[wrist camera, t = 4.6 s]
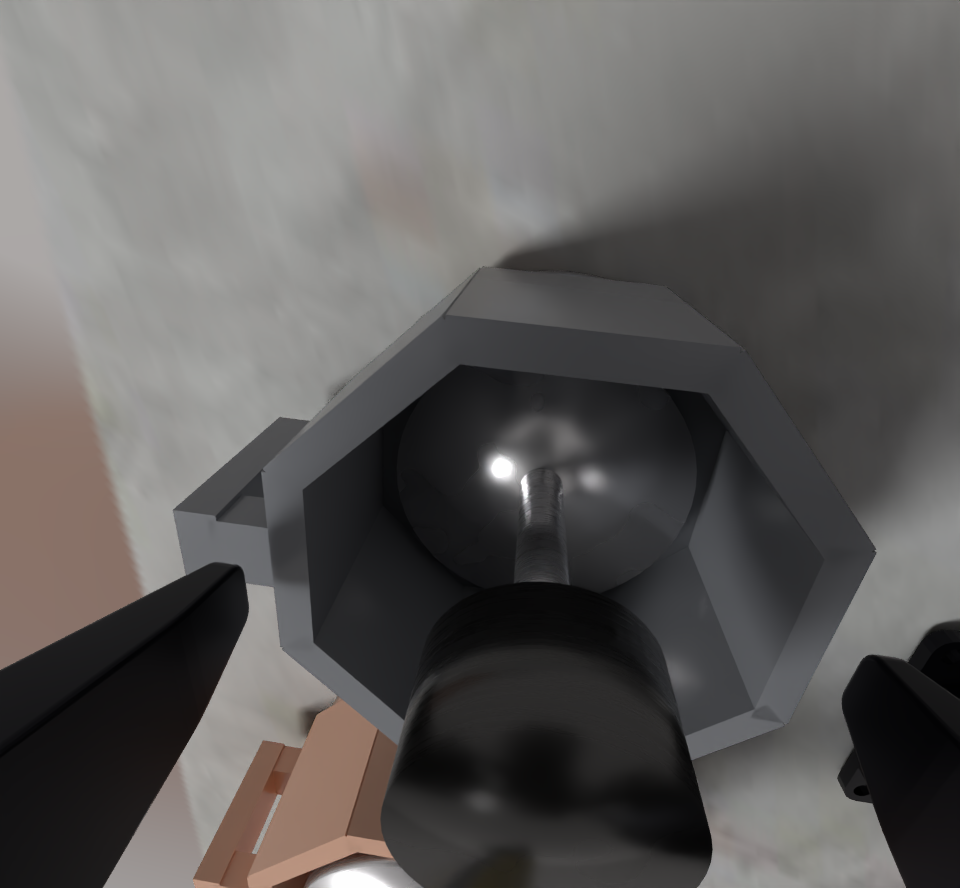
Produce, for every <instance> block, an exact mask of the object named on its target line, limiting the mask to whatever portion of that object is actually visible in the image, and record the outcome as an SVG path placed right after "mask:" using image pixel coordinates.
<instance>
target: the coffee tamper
mask: <svg viewBox="0 0 960 888" xmlns="http://www.w3.org/2000/svg"><path fill="white" fill-rule="evenodd" d="M696 477H697V466H696V454H695V450H694V446H693V442H692V437H691V434H690V432H689V430H688V427H687V425H686V422H685V420H684V418H683V416H682V415H681V413H680V411H679V410H678V408H677V406H676V405H675V403H674V402H673V400H672V398H671V397H670V395H669V394H668V392H667V391H666V390H665V389H664V388H658V387H649V386H641V385H632V384H624V383H615V382H607V381H598V380H589V379H581V378H572V377H564V376H555V375H547V374H538V373H530V372H521V371H513V370H504V369H496V368H487V367H478V366H470V365H461V364H460V365H459V366H457V367H456V368H455V369H454V370H452V371H451V372H450V373H448V374H447V375H446V376H445V377H443V378H442V379H441V380H440V381H438V382H437V383H436V384H435V385H433V386H432V387H431V388H430V389H428V390H427V391H426V392H425V393H424V394H423V395H422V397H421V398H420V400H419V402H418V403H417V405H416V407H415V409H414V410H413V412H412V414H411V415H410V417H409V419H408V422H407V424H406V426H405V429H404V431H403V434H402V437H401V441H400V445H399V449H398V458H397V484H398V489H399V494H400V499H401V502H402V505H403V508H404V511H405V514H406V516H407V518H408V520H409V522H410V524H411V526H412V528H413V530H414V531H415V533H416V534H417V536H418V537H419V539H420V540H421V542H422V543H423V544H424V545H425V547H426V548H427V549H428V550H429V551H430V552H431V553H432V554H433V556H435V557H436V558H437V559H438V560H439V561H440V562H441V563H442V564H444V565H445V566H446V567H447V568H449V569H450V570H451V571H453V572H454V573H456V574H457V575H459V576H460V577H462V578H464V579H465V580H467V581H469V582H471V583H473V584H475V585H477V586H479V587H482V588H484V589H485V590H483V591H480V592H477V593H475V594H473V595H471V596H469V597H467V598H465V599H463V600H461V601H460V602H458V603H457V604H455V605H454V606H452V607H451V608H450V609H449V610H448V611H446V612H445V613H444V614H443V615H442V616H441V617H440V618H439V619H438V621H437V622H436V623H435V625H434V626H433V627H432V629H431V631H430V633H429V634H428V636H427V638H426V641H425V644H424V647H423V651H422V655H421V659H420V662H419V666H418V670H417V674H416V678H415V682H414V685H413V689H412V693H411V697H410V701H409V705H408V708H407V712H406V716H405V720H404V724H403V728H402V731H401V735H400V739H399V743H398V747H397V751H396V754H395V758H394V762H393V766H392V770H391V774H390V778H389V781H388V785H387V789H386V793H385V797H384V801H383V804H382V810H381V818H380V821H381V830H382V834H383V837H384V841H385V844H386V846H387V847H388V849H389V851H390V853H391V855H392V856H393V858H394V859H395V860H396V862H397V863H398V865H399V866H400V867H401V868H402V869H403V870H404V871H405V872H406V873H407V874H408V875H409V876H410V877H411V878H412V879H413V880H414V881H416V882H417V883H418V884H419V885H421V886H422V887H423V888H697V887H698V886H699V885H700V883H701V882H702V880H703V878H704V877H705V875H706V874H707V871H708V868H709V866H710V863H711V857H712V850H713V849H712V839H711V834H710V830H709V826H708V822H707V818H706V814H705V810H704V807H703V803H702V799H701V795H700V791H699V787H698V783H697V780H696V776H695V772H694V768H693V764H692V760H691V757H690V753H689V749H688V745H687V741H686V737H685V733H684V730H683V726H682V722H681V718H680V714H679V710H678V707H677V703H676V699H675V695H674V691H673V687H672V683H671V680H670V676H669V672H668V668H667V664H666V660H665V657H664V654H663V651H662V649H661V647H660V645H659V643H658V641H657V639H656V637H655V636H654V635H653V633H652V632H651V631H650V629H649V628H648V627H647V626H646V625H645V624H644V623H643V622H642V621H641V620H640V619H639V618H638V617H637V616H636V615H635V614H633V613H632V612H631V611H629V610H628V609H627V608H625V607H624V606H622V605H621V604H619V603H617V602H615V601H614V600H612V599H610V598H608V597H606V596H603V595H601V594H599V593H601V592H604V591H607V590H610V589H612V588H614V587H616V586H618V585H620V584H623V583H625V582H627V581H628V580H630V579H632V578H633V577H635V576H637V575H638V574H640V573H641V572H643V571H644V570H645V569H646V568H648V567H649V566H650V565H652V564H653V563H654V562H655V561H656V560H657V559H658V558H659V557H660V556H661V555H662V554H663V553H664V552H665V551H666V550H667V549H668V548H669V546H670V545H671V544H672V542H673V541H674V540H675V538H676V537H677V536H678V534H679V532H680V530H681V529H682V527H683V525H684V523H685V521H686V519H687V516H688V514H689V511H690V509H691V506H692V502H693V498H694V494H695V489H696Z"/></svg>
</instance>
